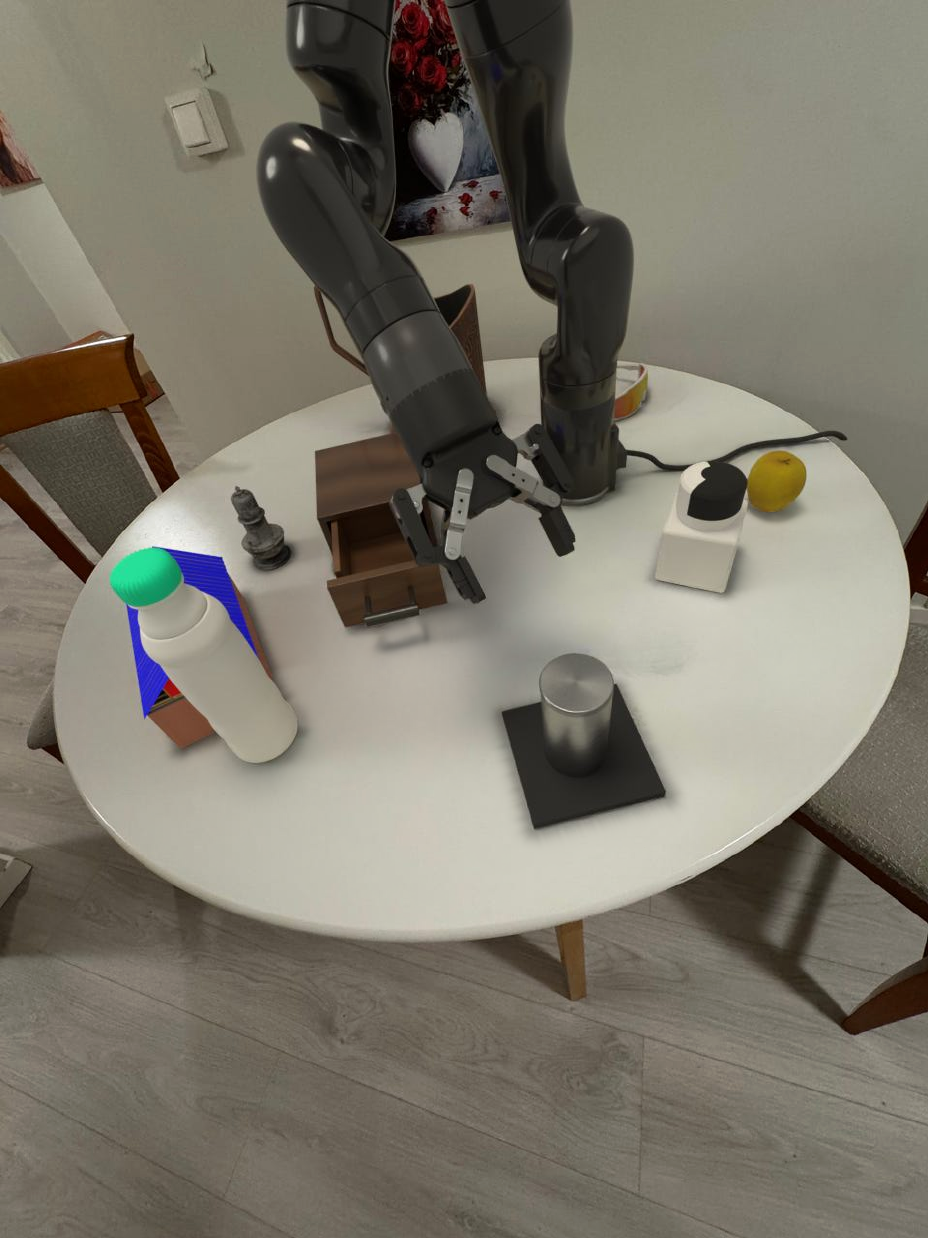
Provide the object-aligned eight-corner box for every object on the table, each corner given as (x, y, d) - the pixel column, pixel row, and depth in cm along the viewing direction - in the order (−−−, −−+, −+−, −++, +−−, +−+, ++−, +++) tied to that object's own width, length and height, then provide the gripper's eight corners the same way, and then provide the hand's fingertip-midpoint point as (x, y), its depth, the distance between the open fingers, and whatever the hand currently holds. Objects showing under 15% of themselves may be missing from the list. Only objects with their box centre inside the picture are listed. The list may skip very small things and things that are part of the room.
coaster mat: (615, 688, 60) (616, 683, 59) (665, 796, 52) (666, 792, 51) (502, 716, 59) (501, 711, 59) (533, 829, 51) (533, 824, 51)
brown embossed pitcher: (499, 449, 91) (480, 274, 73) (351, 465, 94) (297, 301, 76) (496, 391, 104) (480, 229, 85) (365, 407, 106) (322, 254, 88)
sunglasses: (629, 429, 90) (627, 398, 86) (543, 425, 98) (538, 397, 94) (661, 385, 97) (660, 355, 94) (578, 385, 105) (574, 357, 102)
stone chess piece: (283, 572, 79) (246, 501, 70) (245, 570, 80) (204, 500, 71) (299, 543, 83) (266, 472, 74) (262, 542, 84) (226, 471, 75)
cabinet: (438, 546, 78) (426, 492, 72) (338, 569, 78) (316, 518, 71) (422, 480, 89) (410, 428, 82) (333, 501, 88) (314, 450, 82)
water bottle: (238, 714, 64) (103, 543, 46) (301, 701, 64) (191, 525, 46) (230, 772, 59) (76, 607, 41) (298, 758, 59) (174, 587, 41)
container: (734, 550, 70) (760, 457, 60) (723, 595, 66) (750, 502, 56) (668, 538, 73) (683, 448, 63) (654, 580, 69) (667, 490, 59)
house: (178, 752, 62) (114, 690, 53) (154, 633, 74) (99, 567, 66) (284, 700, 64) (240, 633, 56) (244, 593, 77) (203, 525, 68)
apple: (777, 529, 71) (796, 474, 66) (730, 508, 75) (744, 455, 69) (805, 503, 74) (826, 448, 68) (758, 485, 77) (773, 431, 71)
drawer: (454, 629, 67) (444, 587, 62) (346, 654, 66) (327, 614, 61) (429, 528, 79) (419, 486, 74) (339, 549, 79) (323, 509, 74)
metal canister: (595, 715, 57) (599, 645, 49) (617, 769, 53) (625, 703, 45) (536, 729, 57) (530, 661, 48) (554, 784, 53) (551, 721, 45)
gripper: (352, 408, 40) (461, 616, 41) (522, 336, 44) (617, 530, 45) (345, 444, 47) (438, 620, 49) (491, 380, 51) (574, 546, 52)
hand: (524, 577), depth 47 cm, fingers open, 8 cm apart
